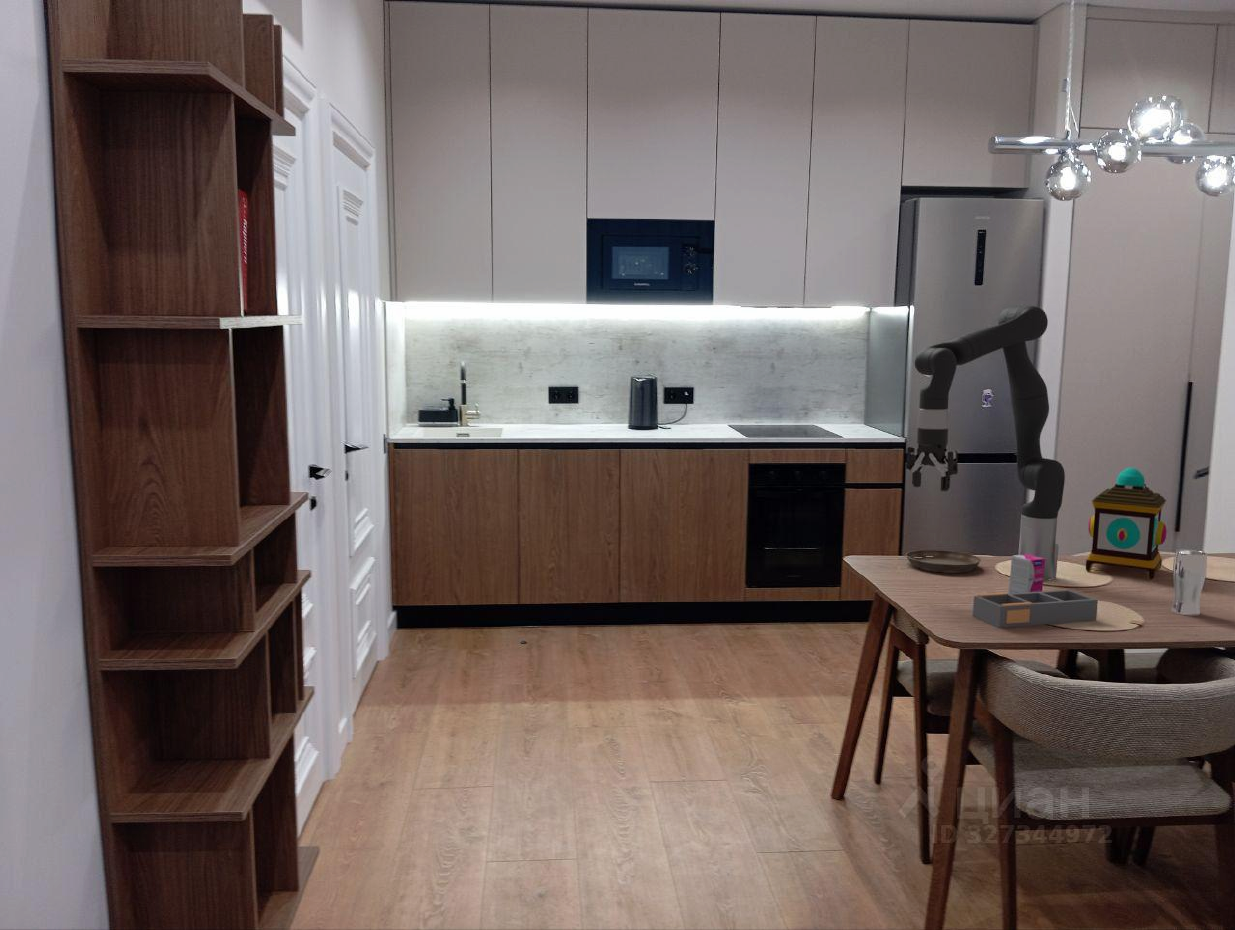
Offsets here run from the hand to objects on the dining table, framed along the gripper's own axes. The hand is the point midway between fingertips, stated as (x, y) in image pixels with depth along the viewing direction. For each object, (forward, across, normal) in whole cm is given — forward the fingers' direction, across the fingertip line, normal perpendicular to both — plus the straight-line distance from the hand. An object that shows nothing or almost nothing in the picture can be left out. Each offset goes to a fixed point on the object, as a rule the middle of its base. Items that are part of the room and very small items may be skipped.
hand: (930, 488), depth 253 cm
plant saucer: (+28, +15, -26) cm, 41 cm away
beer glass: (+28, -48, -36) cm, 66 cm away
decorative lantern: (+28, -16, -67) cm, 75 cm away
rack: (+27, -31, +1) cm, 41 cm away
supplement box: (+27, -21, -12) cm, 36 cm away
